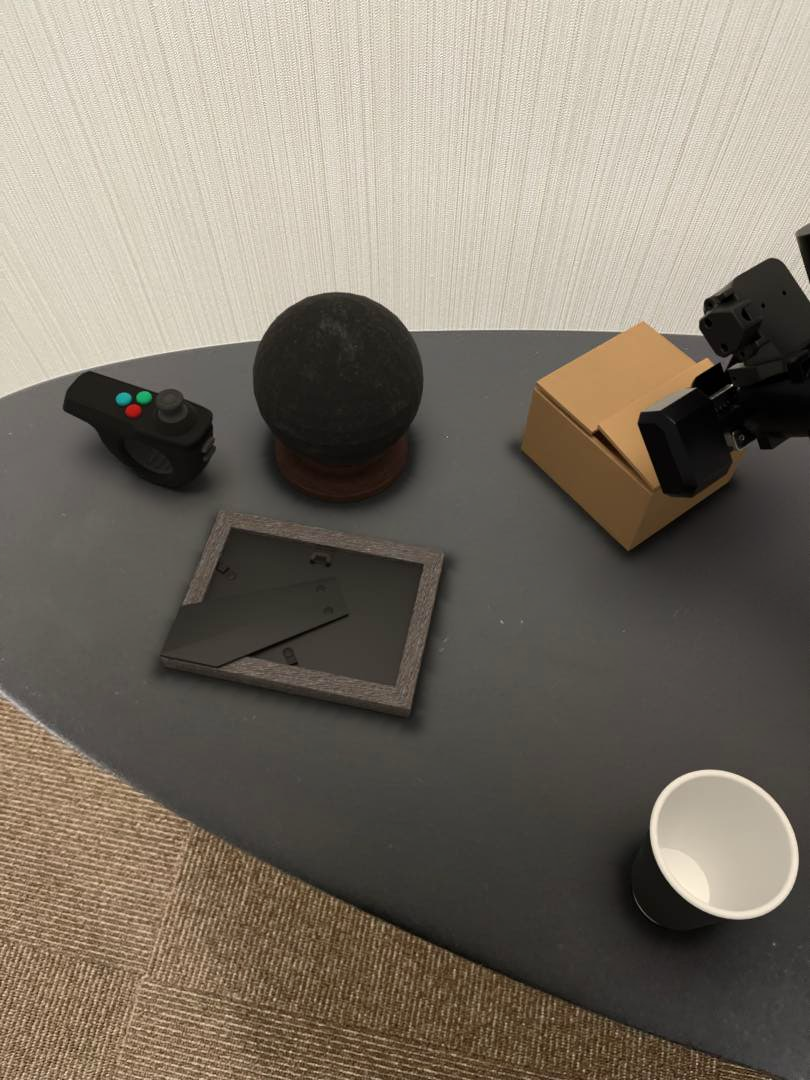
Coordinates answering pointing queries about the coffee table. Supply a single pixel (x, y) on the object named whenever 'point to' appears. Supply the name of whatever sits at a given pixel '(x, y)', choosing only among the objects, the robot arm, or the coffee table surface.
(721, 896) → the dixie cup
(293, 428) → the black ball on stand
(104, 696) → the coffee table surface
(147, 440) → the controller
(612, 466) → the carton
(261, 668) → the picture frame
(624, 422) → the flap
